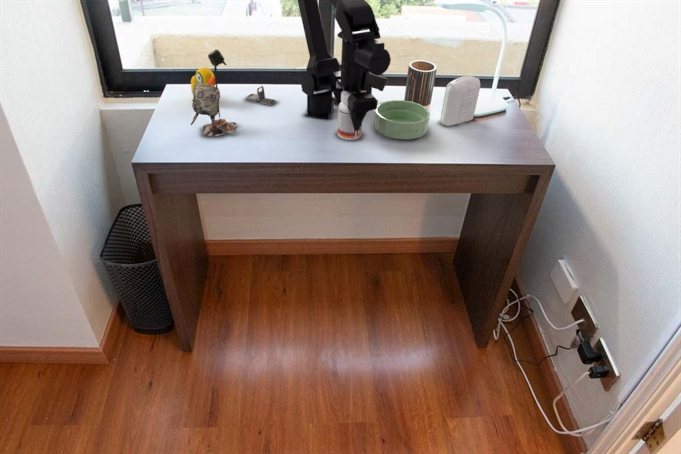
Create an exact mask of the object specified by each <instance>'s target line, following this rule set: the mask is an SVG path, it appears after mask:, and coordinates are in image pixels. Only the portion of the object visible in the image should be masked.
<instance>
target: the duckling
mask: <svg viewBox="0 0 681 454" xmlns="http://www.w3.org/2000/svg"><path fill="white" fill-rule="evenodd" d="M198 83H203V84H207V85H212V86H216V83H215V73H214V72H213V71H212V69H210V68H209V67H200V68H198V69H197V70H196V72H195V75H193V76H192V77H191V80H190V90H191V93H192V95H193V87H194V85H195V84H198Z"/></svg>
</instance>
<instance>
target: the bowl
mask: <svg viewBox="0 0 681 454" xmlns="http://www.w3.org/2000/svg"><path fill="white" fill-rule="evenodd" d="M430 116H431V113H430V111H429V109H428V108H427V107H426V106H424V105H422V104H421V103H417V102H414V101H409V100H403V99H401V100H400V99H396V100H395V99H394V100H385V101H383V102H381V103H379V104H377V109H374V120H373V126H374V129H375V130H376V131H377V132H378V133H379V134H381V135H383V136H385V137H387V138H390V139H397V140H413V139H419V138H421V137H423V136H425V135H426V134H427V132H428V128H429V123H430Z"/></svg>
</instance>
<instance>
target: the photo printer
mask: <svg viewBox="0 0 681 454" xmlns="http://www.w3.org/2000/svg"><path fill="white" fill-rule="evenodd" d="M480 90H481V81H480V79H479V77H476V76H472V75H465V76H461V77H458V78H455V79H453V80H451V81H450V82H448V83H447V85H446V86H445V91H444V96H443V102H442V107H441V113H440V119H439V121H440V123H441V124H442V125H444V126H446V127H450V126H454V125H458V124H462V123H467V122H470V121H472V120H473V119H474V116H475V112H476V107H477V103H478V98H479V93H480Z"/></svg>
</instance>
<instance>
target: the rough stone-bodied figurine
mask: <svg viewBox="0 0 681 454" xmlns="http://www.w3.org/2000/svg"><path fill="white" fill-rule="evenodd" d="M207 57H208V60H209V62H210V64H211V65H212V66H213V69H214V77H215V83H216V85H214V86H212V85H207V84H203V83H198V84H195V85H194V87H193V94H192V99H191V102H192V104H191V106H192V110H193V111H194V113H195V114H194V116H193V118H192V120H191V122H190V126H193V125H194V123H195V121H197V119H198V116H199V115H203V116H208V117H209V118H210V120H211V123H205V124H203V125H202V133H203V136H204V137H217V136H222V135H223V134H228V133H232V134H235V133H236V132H237V131H236V130H237V128H238V126H237V122H234V121H233V122H231V121H230V122H228V121H227V120H226V119H225V118H221V113H220V112H221V111H220V99H221V91H220V89H219V87H218V78H217V77H218V76H217V74H218V73H217V71H218V69H217V67H218V66H220V65H222V64H223V65H224V66H227V63H226V61H225V57H224V55H223V54H222V53H221V51H220V50H219V49H214V50H213V51H211V52H210V53H208V55H207ZM217 115H218V117H219V119H216V116H217Z"/></svg>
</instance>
